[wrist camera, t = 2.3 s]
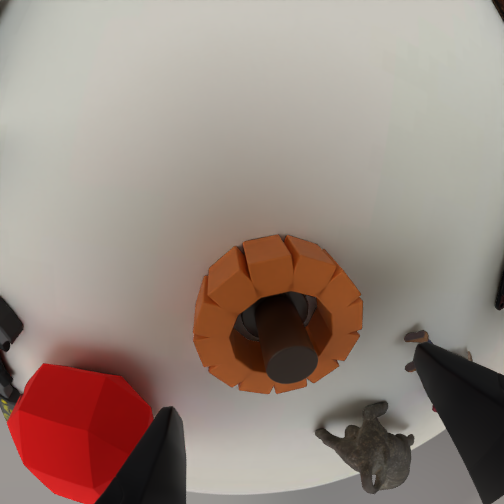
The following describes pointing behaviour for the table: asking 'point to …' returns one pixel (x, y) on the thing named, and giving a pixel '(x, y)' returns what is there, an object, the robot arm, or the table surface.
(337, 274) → the orange ring
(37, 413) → the ball
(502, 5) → the pastry
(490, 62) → the table surface
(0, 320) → the knife
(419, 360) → the robot arm
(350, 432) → the dog figurine
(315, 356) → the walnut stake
